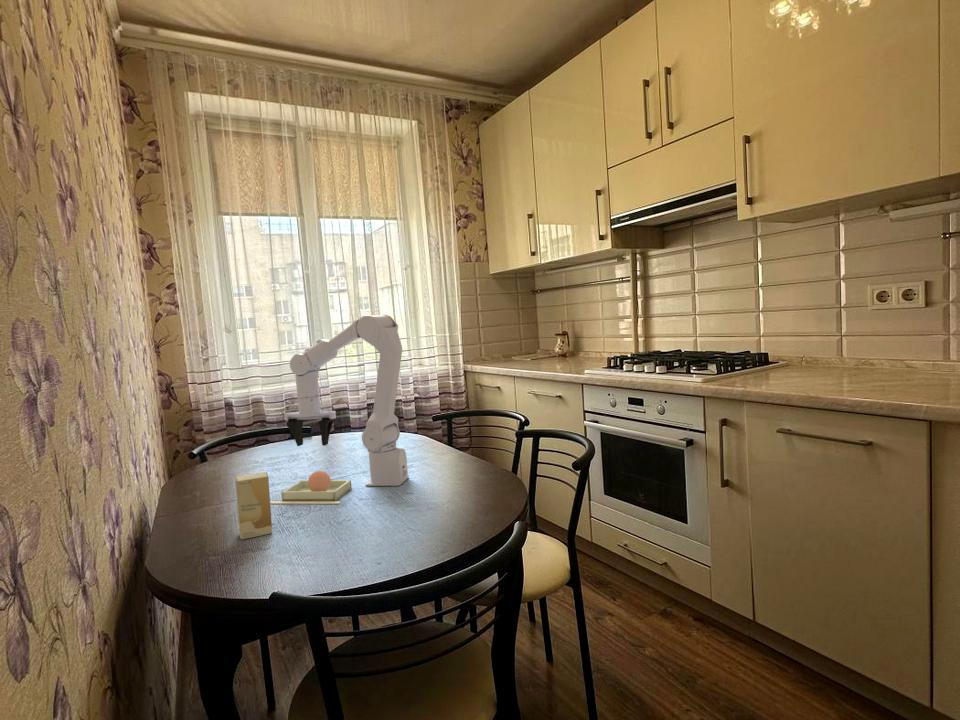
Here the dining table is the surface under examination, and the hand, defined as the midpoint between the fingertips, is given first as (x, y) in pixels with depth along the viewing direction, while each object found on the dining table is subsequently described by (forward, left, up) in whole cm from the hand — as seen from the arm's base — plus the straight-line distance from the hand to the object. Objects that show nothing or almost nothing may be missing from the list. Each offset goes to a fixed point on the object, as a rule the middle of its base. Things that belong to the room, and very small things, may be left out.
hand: (312, 445), depth 153 cm
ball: (-9, +14, -6) cm, 18 cm away
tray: (-8, +14, -9) cm, 19 cm away
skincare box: (-7, +39, -10) cm, 41 cm away
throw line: (-8, +21, -9) cm, 24 cm away
